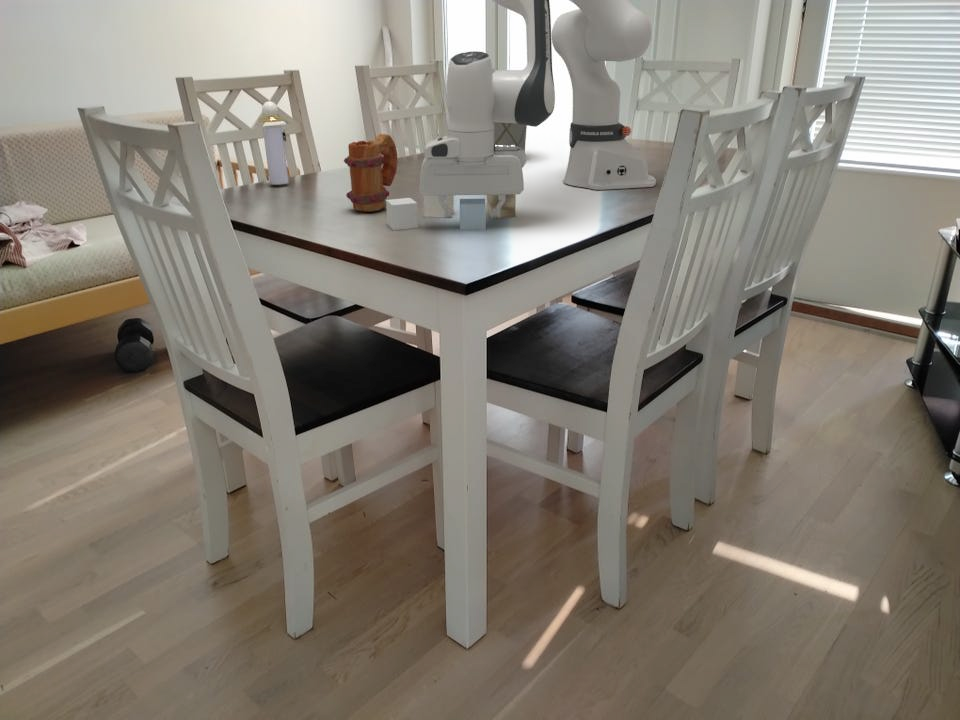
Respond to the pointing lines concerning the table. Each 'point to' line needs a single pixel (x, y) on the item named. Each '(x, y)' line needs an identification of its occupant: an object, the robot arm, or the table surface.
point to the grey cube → (402, 213)
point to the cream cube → (436, 206)
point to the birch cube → (506, 208)
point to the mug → (371, 172)
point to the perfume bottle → (274, 145)
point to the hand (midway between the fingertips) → (472, 217)
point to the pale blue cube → (472, 214)
